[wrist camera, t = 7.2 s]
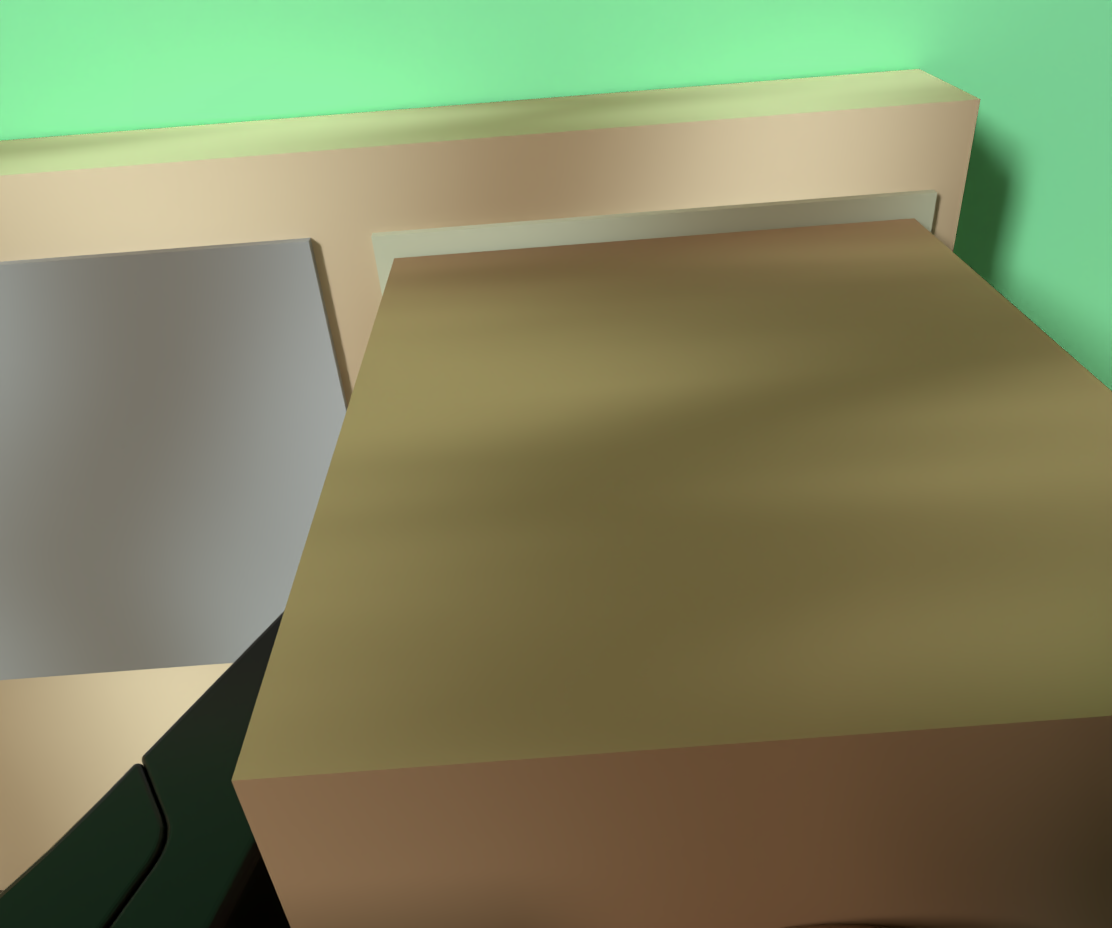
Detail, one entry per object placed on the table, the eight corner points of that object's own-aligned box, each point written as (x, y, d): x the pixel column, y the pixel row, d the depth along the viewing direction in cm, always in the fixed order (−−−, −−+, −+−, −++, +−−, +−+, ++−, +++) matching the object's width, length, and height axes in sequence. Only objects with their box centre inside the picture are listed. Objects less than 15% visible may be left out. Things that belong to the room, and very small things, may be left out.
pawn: (914, 218, 9) (2655, 1746, 2) (854, 607, 11) (1410, 1816, 4) (393, 257, 9) (-125, 1935, 2) (459, 637, 12) (366, 1886, 4)
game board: (918, 69, 10) (1171, 194, 6) (789, 982, 20) (853, 1240, 16) (-1338, 245, 10) (-2471, 476, 6) (-320, 1063, 20) (-511, 1337, 16)
